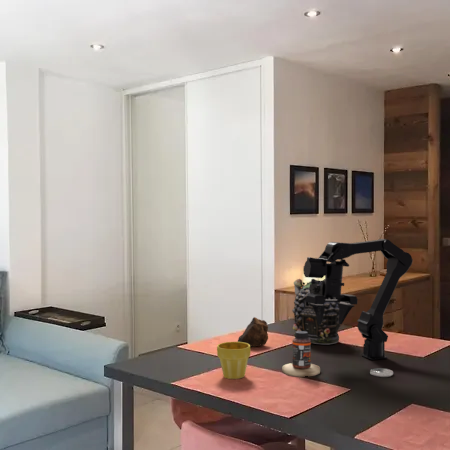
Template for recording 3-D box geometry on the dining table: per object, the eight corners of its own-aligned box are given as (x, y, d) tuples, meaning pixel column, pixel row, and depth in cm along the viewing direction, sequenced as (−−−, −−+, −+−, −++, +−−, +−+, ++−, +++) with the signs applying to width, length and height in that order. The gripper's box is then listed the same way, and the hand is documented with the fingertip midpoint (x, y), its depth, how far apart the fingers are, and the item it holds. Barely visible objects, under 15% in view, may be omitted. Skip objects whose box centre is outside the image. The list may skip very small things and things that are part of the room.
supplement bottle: (305, 370, 181) (305, 334, 181) (289, 367, 184) (288, 332, 184) (314, 366, 186) (314, 331, 186) (297, 364, 189) (297, 329, 189)
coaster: (308, 364, 193) (308, 361, 193) (327, 374, 182) (327, 370, 182) (276, 368, 189) (276, 364, 189) (293, 378, 177) (293, 374, 177)
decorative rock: (266, 343, 225) (265, 315, 225) (270, 346, 219) (270, 318, 219) (236, 345, 222) (236, 317, 222) (240, 348, 216) (240, 320, 216)
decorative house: (284, 341, 228) (283, 278, 227) (301, 334, 240) (301, 274, 239) (333, 348, 216) (332, 281, 215) (349, 340, 228) (348, 277, 228)
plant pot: (226, 383, 173) (226, 350, 173) (211, 374, 182) (211, 343, 182) (256, 378, 178) (256, 346, 178) (240, 370, 187) (240, 340, 187)
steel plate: (384, 369, 186) (384, 367, 186) (397, 375, 180) (397, 373, 180) (365, 372, 184) (365, 369, 184) (378, 378, 177) (378, 375, 177)
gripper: (338, 276, 209) (335, 319, 209) (297, 275, 199) (293, 320, 199) (360, 280, 199) (356, 325, 199) (318, 279, 190) (314, 326, 190)
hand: (329, 324), depth 197 cm, fingers open, 9 cm apart
